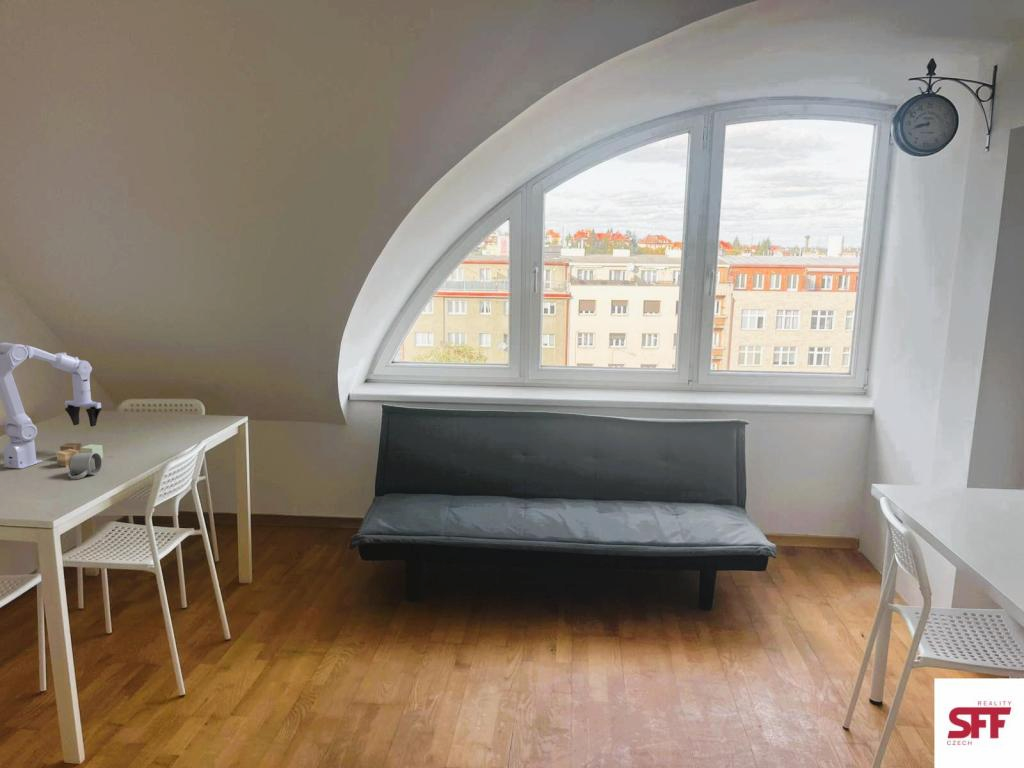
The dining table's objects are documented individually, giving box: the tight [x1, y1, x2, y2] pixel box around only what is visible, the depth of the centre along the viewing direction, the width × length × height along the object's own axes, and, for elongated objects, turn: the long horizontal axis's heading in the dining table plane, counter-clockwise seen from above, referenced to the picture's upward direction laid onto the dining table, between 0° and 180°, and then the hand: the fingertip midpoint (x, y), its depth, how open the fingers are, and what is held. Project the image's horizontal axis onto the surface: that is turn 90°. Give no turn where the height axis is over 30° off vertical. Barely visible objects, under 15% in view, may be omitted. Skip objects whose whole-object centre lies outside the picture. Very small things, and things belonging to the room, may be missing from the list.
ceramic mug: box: [68, 453, 103, 480], centre depth 258 cm, size 11×8×8 cm
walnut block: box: [59, 442, 83, 453], centre depth 279 cm, size 5×5×5 cm
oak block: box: [56, 449, 79, 468], centre depth 270 cm, size 5×5×5 cm
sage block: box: [81, 443, 104, 459], centre depth 277 cm, size 5×5×5 cm
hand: (84, 425), depth 288 cm, fingers open, 7 cm apart
